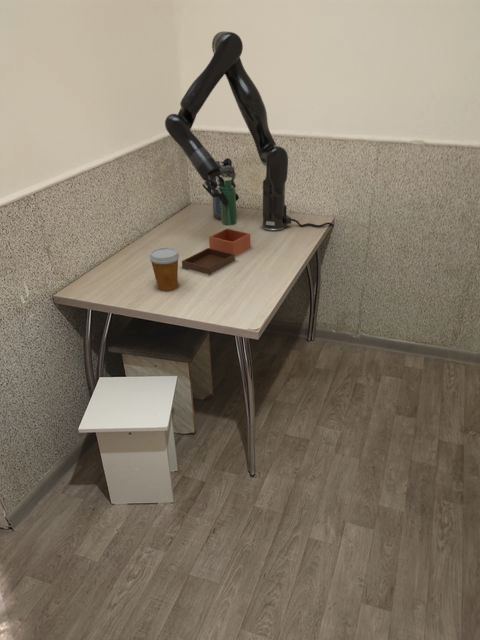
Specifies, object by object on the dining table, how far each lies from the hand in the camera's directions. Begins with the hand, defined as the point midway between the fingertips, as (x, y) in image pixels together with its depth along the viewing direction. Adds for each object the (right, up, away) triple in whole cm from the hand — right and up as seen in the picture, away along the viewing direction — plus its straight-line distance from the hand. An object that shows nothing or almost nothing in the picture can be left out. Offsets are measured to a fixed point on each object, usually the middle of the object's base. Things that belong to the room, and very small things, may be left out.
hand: (232, 201), depth 185 cm
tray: (-8, -23, -1) cm, 25 cm away
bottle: (-1, -6, +5) cm, 8 cm away
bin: (-1, -15, +11) cm, 19 cm away
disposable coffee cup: (-20, -33, -17) cm, 42 cm away
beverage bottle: (-6, +6, +45) cm, 46 cm away
